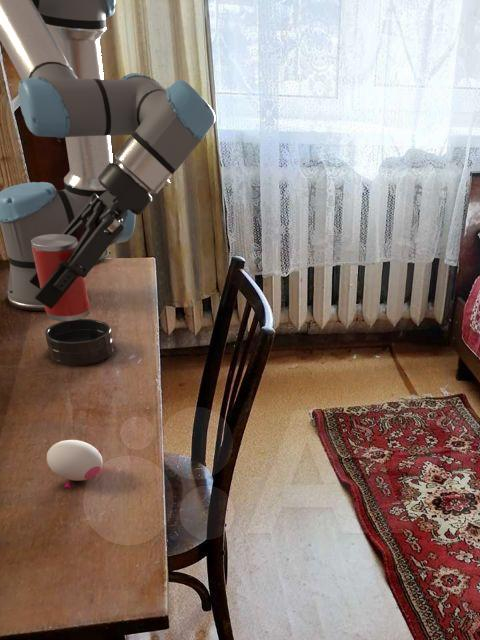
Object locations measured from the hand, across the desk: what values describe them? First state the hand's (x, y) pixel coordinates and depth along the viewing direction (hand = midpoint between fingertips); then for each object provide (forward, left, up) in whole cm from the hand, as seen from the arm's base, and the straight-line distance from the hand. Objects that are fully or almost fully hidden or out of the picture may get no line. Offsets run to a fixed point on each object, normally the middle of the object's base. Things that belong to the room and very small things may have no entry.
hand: (40, 294), depth 102 cm
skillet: (-16, -5, -18) cm, 25 cm away
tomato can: (-2, +3, -3) cm, 5 cm away
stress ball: (+21, +14, -18) cm, 31 cm away
